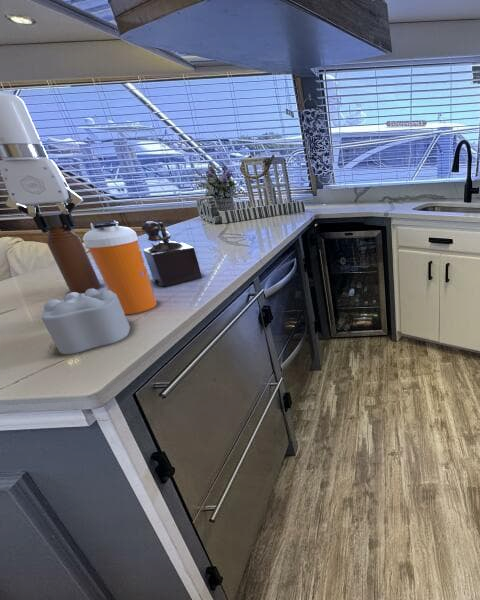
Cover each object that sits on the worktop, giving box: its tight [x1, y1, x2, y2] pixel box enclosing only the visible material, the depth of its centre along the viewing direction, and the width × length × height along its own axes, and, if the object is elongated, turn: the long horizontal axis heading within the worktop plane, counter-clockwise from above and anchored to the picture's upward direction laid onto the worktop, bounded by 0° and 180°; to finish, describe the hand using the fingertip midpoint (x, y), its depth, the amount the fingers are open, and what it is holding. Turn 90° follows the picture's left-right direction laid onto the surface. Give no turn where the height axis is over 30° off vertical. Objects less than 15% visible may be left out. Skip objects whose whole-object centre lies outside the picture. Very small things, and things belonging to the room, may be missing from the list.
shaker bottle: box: [82, 219, 158, 315], centre depth 72 cm, size 9×9×20 cm
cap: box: [41, 212, 65, 228], centre depth 82 cm, size 4×4×3 cm
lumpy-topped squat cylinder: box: [40, 289, 131, 355], centre depth 62 cm, size 10×13×9 cm
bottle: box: [45, 226, 102, 294], centre depth 86 cm, size 6×6×20 cm
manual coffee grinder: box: [141, 221, 202, 287], centre depth 90 cm, size 16×11×18 cm
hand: (59, 230), depth 83 cm, fingers closed on cap, 4 cm apart
